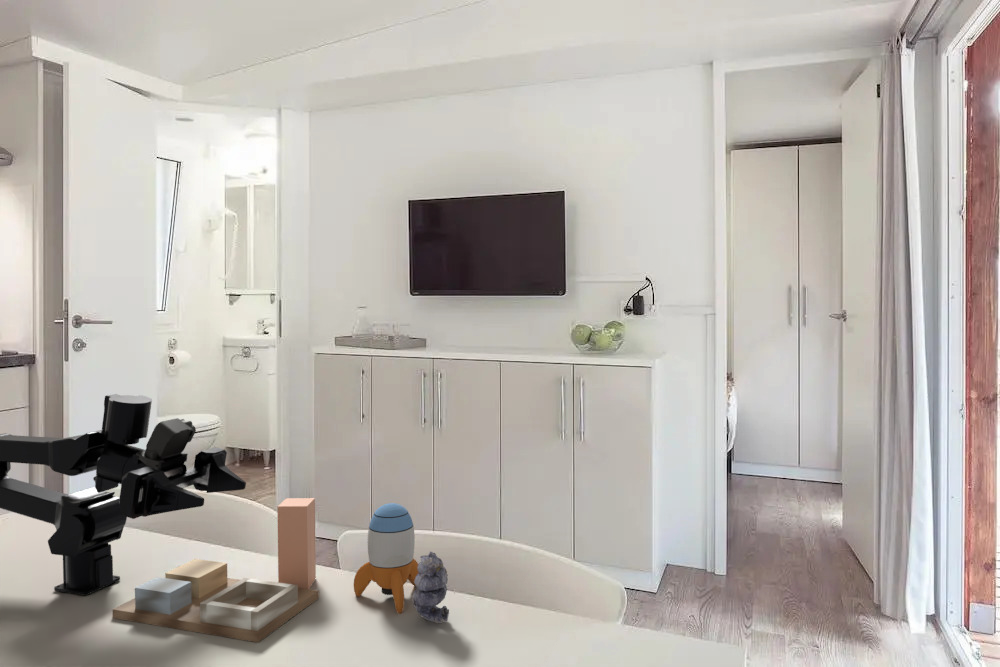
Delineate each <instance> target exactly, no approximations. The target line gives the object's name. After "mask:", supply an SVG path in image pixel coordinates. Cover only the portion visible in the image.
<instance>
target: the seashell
mask: <svg viewBox="0 0 1000 667" xmlns="http://www.w3.org/2000/svg"><path fill="white" fill-rule="evenodd" d="M418 572H419V574H417V575H416V578H415V581H414V584H415V586H416V587H415V590H414V591H413V593H412V598H411V599H412V605H413V606H414V609H415V611H416V612H417V614H418V615H420V616H421V617H422V619H424V620H425V621H427V622H430V623H431V622H434V623H436V624H438V623H439V624H441V623H445V622H448V621H449V620H448V619H449V615H450V609H449V608H448V607H447V606H446V605H443V606H442V607H438V605H439V604H441V602H442V601H444V599H446V595H447V591H448V588H447V584H448V575H449V574H448V571H447V569H446V567H445V566H444V563H443V560H442V559H441V558H440V557H438V555H437V554H436V553H435V552H433V551H429V553H428V554H427V555H421V556H420V562H418Z"/></svg>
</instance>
